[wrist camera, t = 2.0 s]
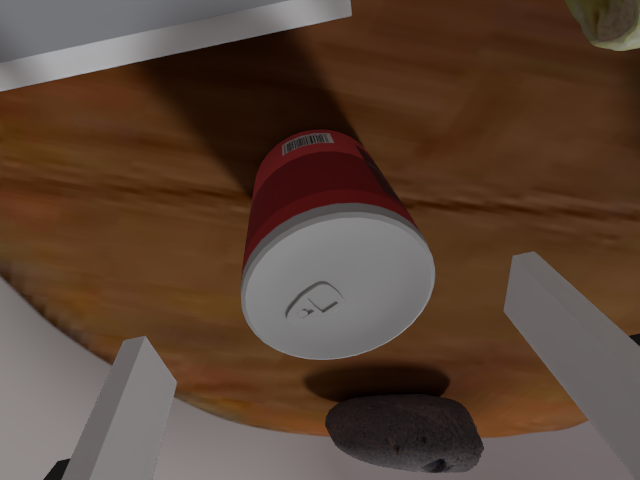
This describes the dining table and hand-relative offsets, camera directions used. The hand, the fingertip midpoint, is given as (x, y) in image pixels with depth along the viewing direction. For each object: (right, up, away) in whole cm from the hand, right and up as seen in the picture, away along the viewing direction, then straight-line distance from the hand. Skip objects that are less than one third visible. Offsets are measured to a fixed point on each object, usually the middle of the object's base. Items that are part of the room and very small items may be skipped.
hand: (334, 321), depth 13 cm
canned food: (-1, +7, +10) cm, 13 cm away
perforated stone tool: (+7, -14, +25) cm, 30 cm away
